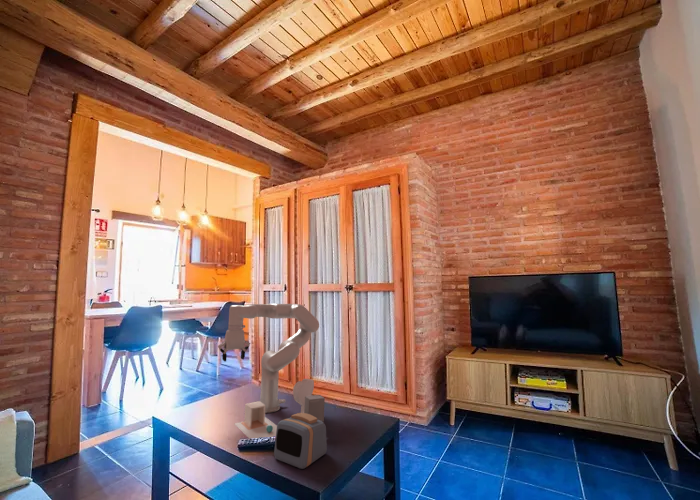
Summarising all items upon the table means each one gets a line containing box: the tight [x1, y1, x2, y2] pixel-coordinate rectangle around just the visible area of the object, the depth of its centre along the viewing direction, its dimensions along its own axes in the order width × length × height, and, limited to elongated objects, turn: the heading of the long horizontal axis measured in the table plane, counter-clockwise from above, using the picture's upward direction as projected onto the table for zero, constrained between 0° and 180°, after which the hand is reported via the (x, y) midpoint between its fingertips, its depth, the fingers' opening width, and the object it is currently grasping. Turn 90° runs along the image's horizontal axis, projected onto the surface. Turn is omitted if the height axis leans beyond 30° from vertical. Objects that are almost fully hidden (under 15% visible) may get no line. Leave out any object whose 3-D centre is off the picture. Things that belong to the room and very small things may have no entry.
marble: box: [266, 425, 273, 432], centre depth 153 cm, size 3×3×3 cm
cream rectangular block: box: [243, 400, 266, 428], centre depth 162 cm, size 7×7×9 cm
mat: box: [234, 416, 277, 440], centre depth 156 cm, size 16×26×1 cm, turn 39°
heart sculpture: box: [292, 378, 315, 413], centre depth 176 cm, size 16×5×18 cm, turn 156°
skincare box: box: [304, 394, 326, 424], centre depth 157 cm, size 8×7×16 cm
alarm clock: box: [273, 412, 328, 470], centre depth 133 cm, size 16×16×16 cm
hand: (233, 359), depth 177 cm, fingers open, 9 cm apart
